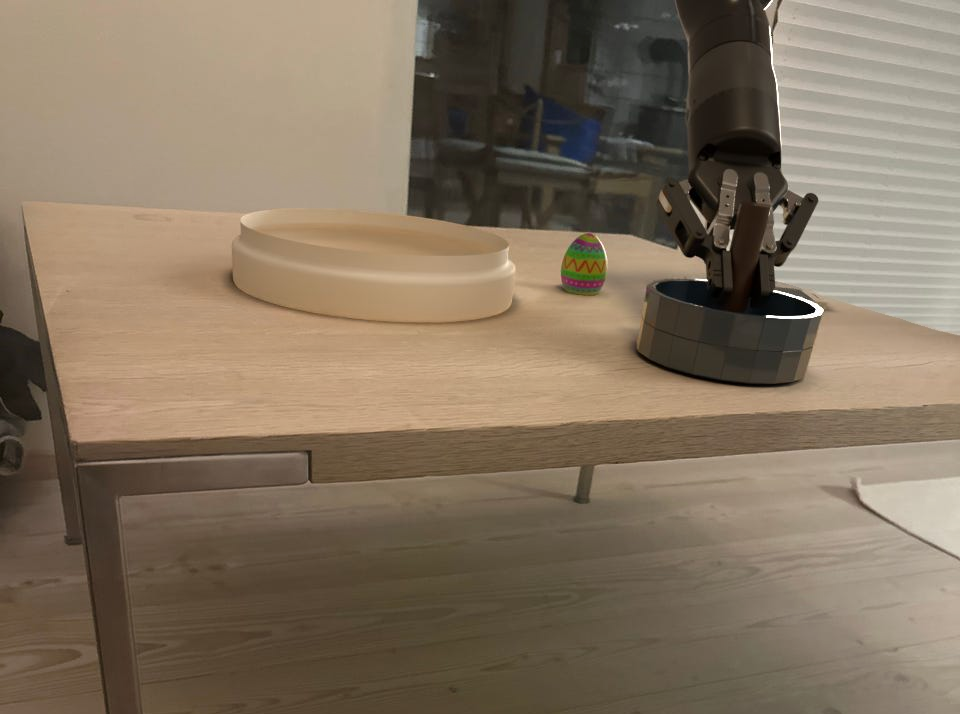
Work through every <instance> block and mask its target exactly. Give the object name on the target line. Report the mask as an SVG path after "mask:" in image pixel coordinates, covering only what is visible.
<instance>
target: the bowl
mask: <svg viewBox="0 0 960 714" xmlns="http://www.w3.org/2000/svg"><path fill="white" fill-rule="evenodd" d="M716 308H717V305H715V304H714V298H712V297H709V295H708V292H707V280H699V279H684V278H664V279H657V280H653V281H651V282H649V283H647V285H646V289H645V296H644V302H643V307H642V311H641V318H640V324H639V328H638V334H637V340H636V344H635V345H636V349H637V351H638V353H639V354H641V355H642V356H644V357H646V358H647V359H648V360H650V361H653V362H655V363H656V364H659V365H660V366H663V367H664V368H667V369H670V370H673V371H675V372H679V373H682V374H685V375H689V376H693V377H697V378H702V379H705V380H706V379H707V380H712V381H716V382H717V381H719V382H724V383H731V384H740V385H774V384H784V383H794V382H796V381H799V380H801V379H804V378H805V377H806V374H807V372H808V368H809V365H810V360H811V358H812V354H813V351H814V346H815V344H816V340H817V337H818V332H819V329H820V326H821V323H822V318H823V314H824V311H825V310H823V309H822V308H820V307H819V306H818V305H817V304H814V303H812V302H810V301H807V300H805V299H803V298H800V297H796V296H793V295H789V294H786V293H782V292H778V291H774V292H773V294H772V295H771V296H770V298H769V299H768V301H767V302H766V303H764V304H763V306H762V307H761V309H754V308H751V307H750V297H749V301H748V305H747V310H746V314H744V313H736V312H730V311H724V310H718V309H716Z"/></svg>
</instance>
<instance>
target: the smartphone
mask: <svg viewBox="0 0 960 714" xmlns="http://www.w3.org/2000/svg"><path fill="white" fill-rule="evenodd" d="M683 279H699V280H707V278H702V277H692V276H684V278H683ZM774 291H778V292H782V293H786V294H789V295H793V296H796V297H800V298H803V299H805V300H807V301H810V302H812V303H814V304H817V305H818V306H819V307H820V308H822V309H823V310H824V311H825V310H827V307H828V303H829V302H828V301H827V300H825V299H824V298H823V297H821V296H820V295H818V294H817V293H816V292H815V291H812V290H808V289H801V288H800V289H799V288H790V287H781V286H775V289H774Z"/></svg>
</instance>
